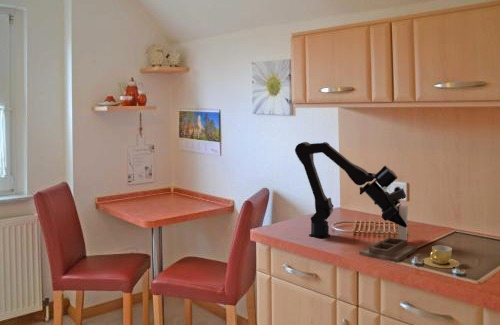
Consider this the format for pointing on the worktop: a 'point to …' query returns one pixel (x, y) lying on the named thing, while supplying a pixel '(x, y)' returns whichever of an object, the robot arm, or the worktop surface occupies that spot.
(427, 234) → the worktop surface
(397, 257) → the rack
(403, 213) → the clay block
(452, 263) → the cup
